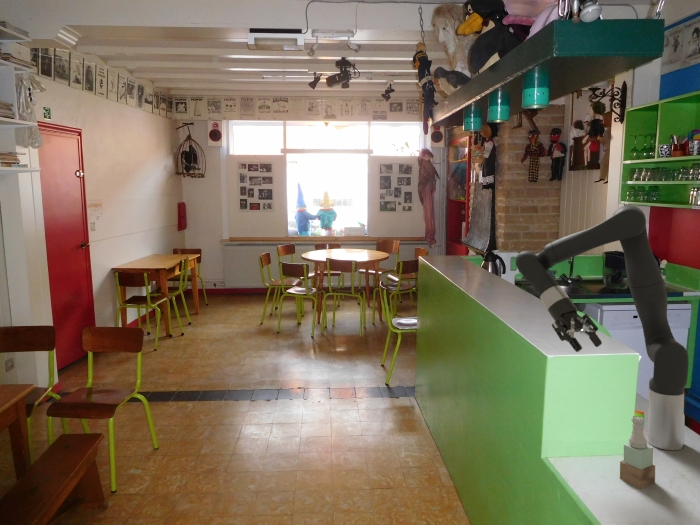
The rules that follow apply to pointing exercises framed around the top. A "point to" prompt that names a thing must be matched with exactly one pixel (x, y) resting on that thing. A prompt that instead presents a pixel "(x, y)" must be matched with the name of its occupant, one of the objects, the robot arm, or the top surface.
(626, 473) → the walnut base block
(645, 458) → the sage top block
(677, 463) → the top surface
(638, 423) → the rook chess piece
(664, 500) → the top surface
